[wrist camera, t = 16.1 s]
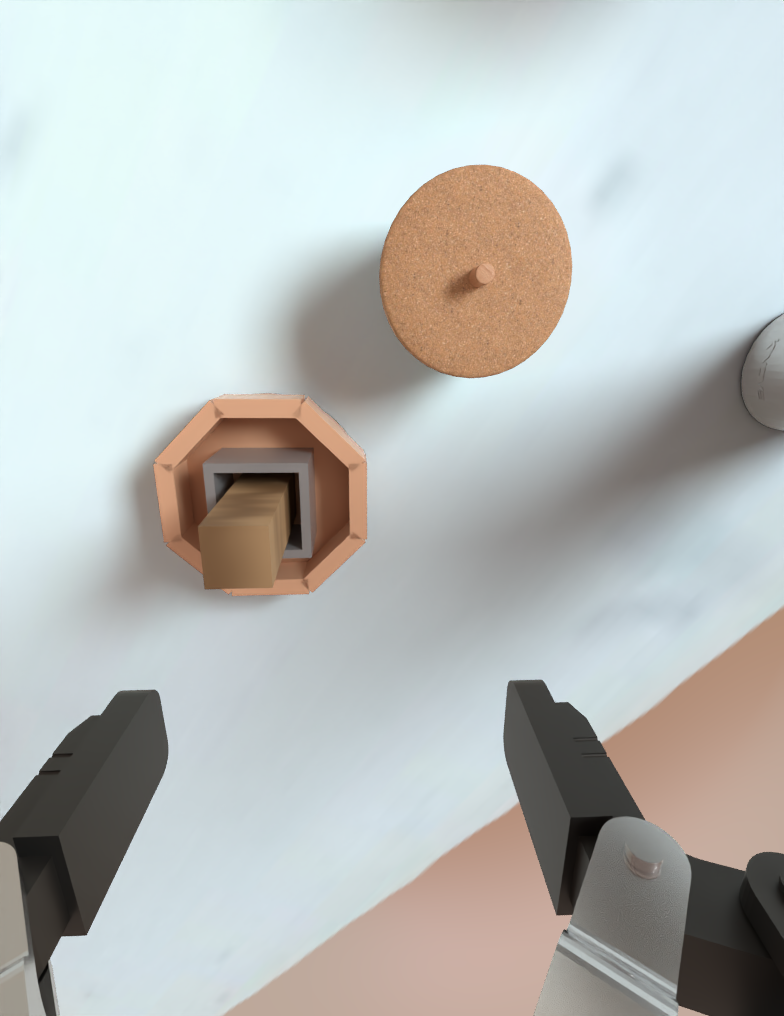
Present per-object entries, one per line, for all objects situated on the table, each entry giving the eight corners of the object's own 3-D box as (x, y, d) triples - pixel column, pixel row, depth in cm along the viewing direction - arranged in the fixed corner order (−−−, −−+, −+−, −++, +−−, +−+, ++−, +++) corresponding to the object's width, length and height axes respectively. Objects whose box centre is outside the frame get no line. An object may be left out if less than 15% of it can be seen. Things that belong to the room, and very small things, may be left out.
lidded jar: (460, 401, 37) (494, 419, 28) (342, 305, 35) (339, 293, 26) (558, 276, 35) (628, 254, 26) (440, 164, 32) (473, 97, 24)
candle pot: (365, 393, 37) (367, 403, 31) (365, 569, 41) (367, 606, 35) (166, 392, 35) (131, 402, 30) (188, 572, 40) (161, 611, 34)
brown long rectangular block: (294, 469, 37) (268, 525, 26) (296, 514, 38) (272, 587, 27) (245, 469, 37) (197, 526, 25) (249, 514, 38) (204, 589, 26)
